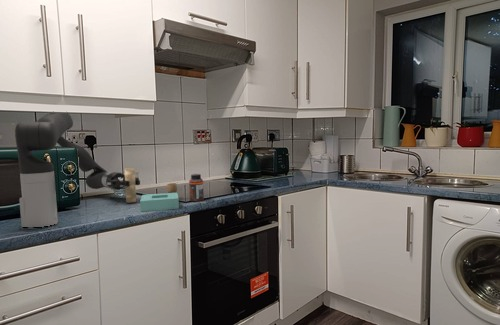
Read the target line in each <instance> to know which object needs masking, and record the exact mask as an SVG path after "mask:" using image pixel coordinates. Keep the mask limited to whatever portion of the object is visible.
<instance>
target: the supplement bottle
mask: <svg viewBox="0 0 500 325" xmlns="http://www.w3.org/2000/svg"><path fill="white" fill-rule="evenodd" d="M190 177H191V179H189V181H188V184H189V185H188V188H189V189H188V190H189V201H190V202H193V201H195V202H203V201H204V199H205V198H204V196H205V194H204V180H203V179H202V178H201V173H191V176H190ZM195 202H194V203H195Z"/></svg>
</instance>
